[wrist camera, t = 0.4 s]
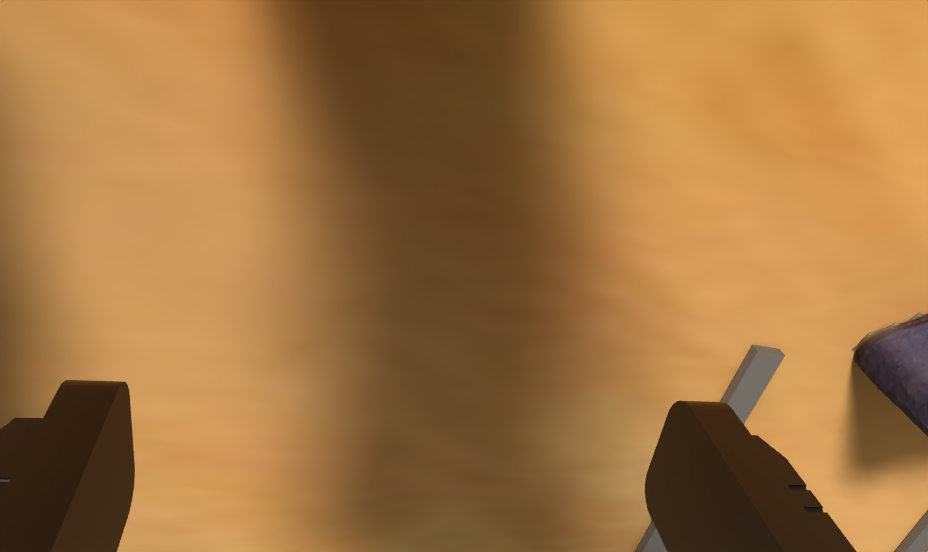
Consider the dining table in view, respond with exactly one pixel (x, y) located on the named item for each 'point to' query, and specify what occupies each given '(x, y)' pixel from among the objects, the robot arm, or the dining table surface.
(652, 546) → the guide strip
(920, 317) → the flask
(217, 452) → the dining table surface
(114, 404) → the robot arm
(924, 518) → the guide strip
